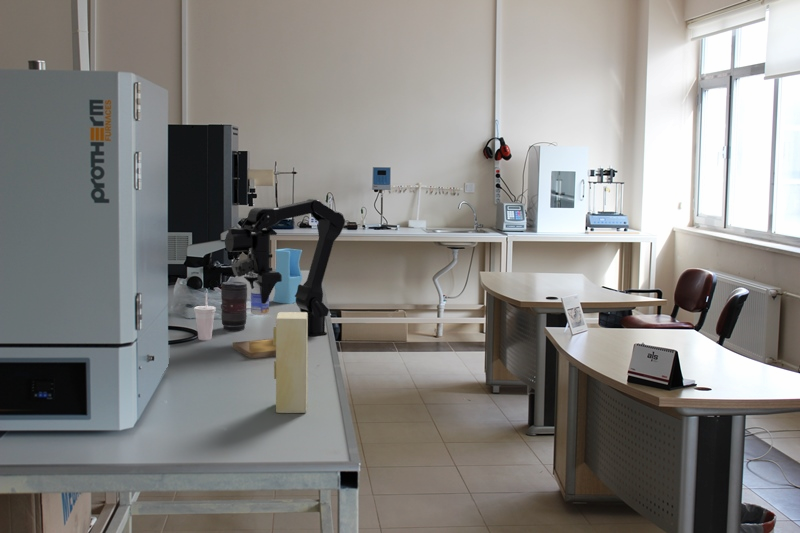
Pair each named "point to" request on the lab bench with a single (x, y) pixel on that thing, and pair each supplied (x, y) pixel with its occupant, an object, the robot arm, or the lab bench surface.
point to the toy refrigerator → (291, 361)
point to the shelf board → (256, 348)
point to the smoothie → (205, 320)
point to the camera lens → (233, 305)
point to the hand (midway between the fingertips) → (260, 301)
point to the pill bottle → (258, 301)
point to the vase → (287, 275)
